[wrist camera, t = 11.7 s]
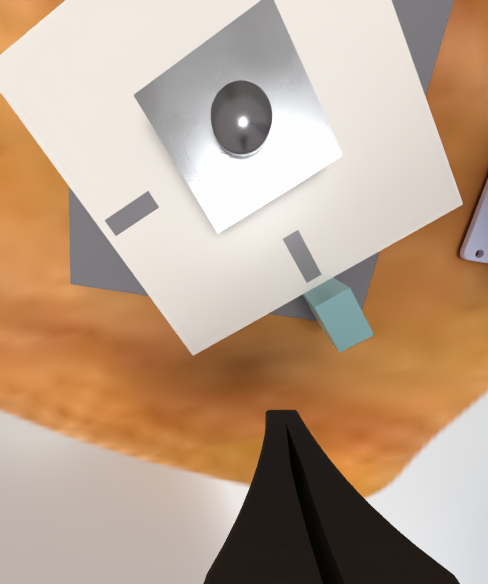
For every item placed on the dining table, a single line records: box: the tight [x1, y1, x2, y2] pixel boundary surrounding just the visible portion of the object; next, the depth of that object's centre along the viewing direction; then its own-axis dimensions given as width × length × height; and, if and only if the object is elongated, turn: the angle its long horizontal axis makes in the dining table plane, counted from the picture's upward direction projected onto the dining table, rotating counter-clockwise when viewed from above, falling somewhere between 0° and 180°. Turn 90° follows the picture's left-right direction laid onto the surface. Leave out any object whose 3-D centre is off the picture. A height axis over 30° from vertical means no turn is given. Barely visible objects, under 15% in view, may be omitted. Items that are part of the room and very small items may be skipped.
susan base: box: [69, 0, 454, 321], centre depth 15 cm, size 19×19×1 cm
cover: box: [134, 0, 343, 233], centre depth 12 cm, size 6×6×4 cm
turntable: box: [0, 0, 463, 356], centre depth 13 cm, size 18×21×4 cm
